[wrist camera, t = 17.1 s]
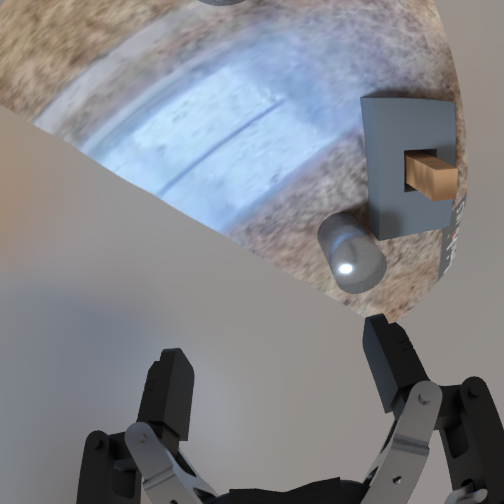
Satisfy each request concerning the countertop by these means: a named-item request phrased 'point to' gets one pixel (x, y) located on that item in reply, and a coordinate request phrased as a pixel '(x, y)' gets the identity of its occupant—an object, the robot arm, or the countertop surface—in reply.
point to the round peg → (351, 253)
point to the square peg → (430, 175)
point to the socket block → (392, 161)
